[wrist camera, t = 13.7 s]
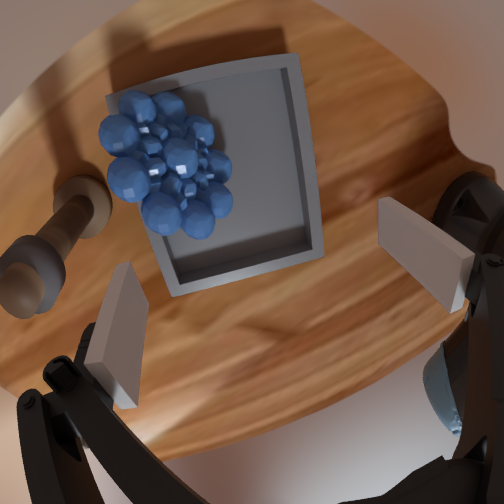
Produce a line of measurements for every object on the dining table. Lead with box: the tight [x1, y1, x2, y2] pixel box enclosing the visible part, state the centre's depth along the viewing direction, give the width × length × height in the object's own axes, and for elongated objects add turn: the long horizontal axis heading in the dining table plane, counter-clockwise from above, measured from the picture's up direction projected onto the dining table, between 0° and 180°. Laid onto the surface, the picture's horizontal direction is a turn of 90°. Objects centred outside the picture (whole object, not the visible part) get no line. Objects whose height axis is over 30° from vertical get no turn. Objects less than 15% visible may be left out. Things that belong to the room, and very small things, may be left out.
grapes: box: [99, 90, 233, 240], centre depth 22 cm, size 12×7×12 cm
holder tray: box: [105, 53, 324, 297], centre depth 27 cm, size 16×20×3 cm
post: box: [0, 175, 112, 319], centre depth 20 cm, size 6×6×16 cm
